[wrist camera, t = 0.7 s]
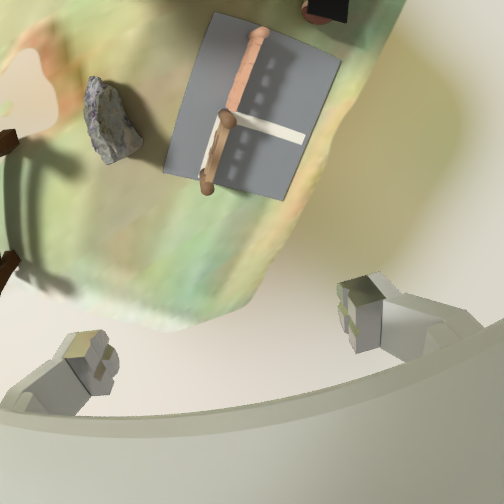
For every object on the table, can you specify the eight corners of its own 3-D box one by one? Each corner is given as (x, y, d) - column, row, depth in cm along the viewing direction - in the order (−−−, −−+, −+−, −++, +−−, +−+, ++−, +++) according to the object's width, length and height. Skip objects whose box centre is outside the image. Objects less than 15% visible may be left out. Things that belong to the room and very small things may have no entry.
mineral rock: (91, 74, 36) (69, 78, 28) (156, 79, 40) (147, 83, 31) (82, 149, 43) (60, 170, 35) (141, 156, 46) (131, 177, 38)
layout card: (214, 12, 35) (214, 11, 34) (340, 60, 42) (341, 60, 42) (162, 171, 48) (162, 172, 48) (281, 200, 56) (282, 201, 55)
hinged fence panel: (233, 107, 44) (239, 113, 39) (222, 104, 43) (226, 110, 38) (261, 33, 37) (271, 29, 32) (250, 29, 37) (259, 24, 32)
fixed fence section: (220, 107, 44) (224, 113, 38) (232, 110, 44) (238, 117, 39) (197, 177, 50) (199, 194, 44) (209, 180, 51) (212, 196, 45)
